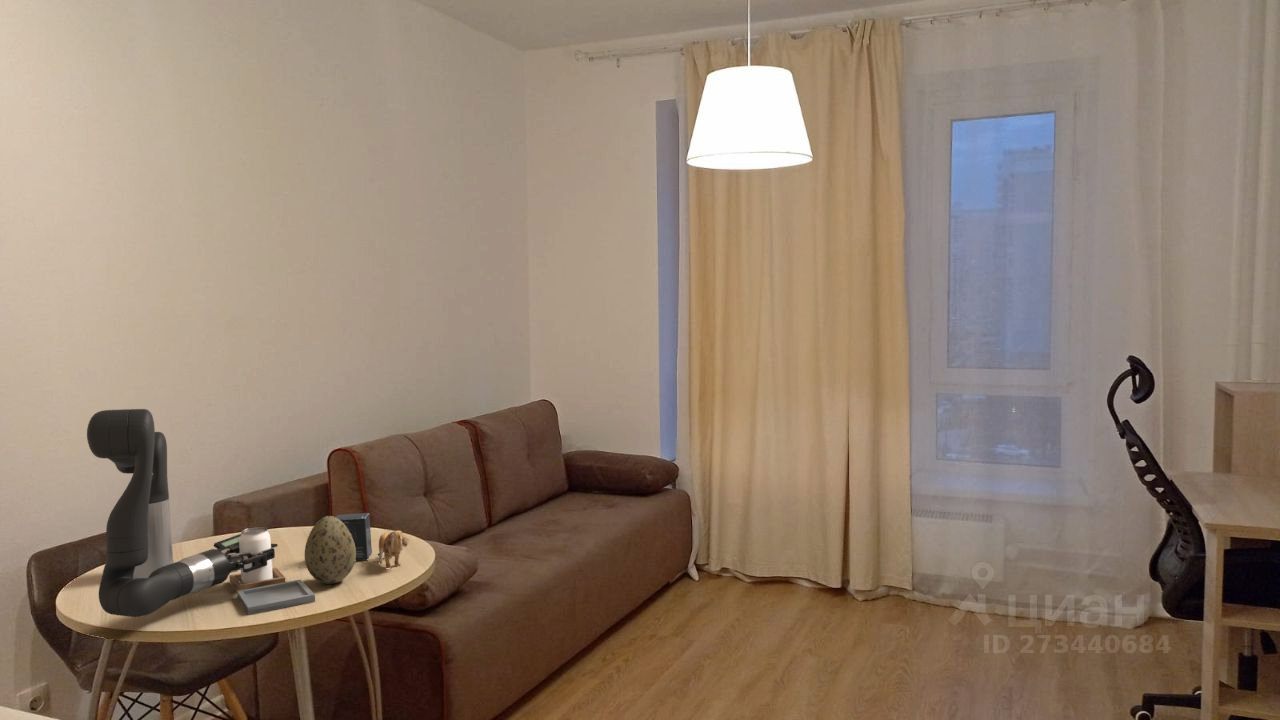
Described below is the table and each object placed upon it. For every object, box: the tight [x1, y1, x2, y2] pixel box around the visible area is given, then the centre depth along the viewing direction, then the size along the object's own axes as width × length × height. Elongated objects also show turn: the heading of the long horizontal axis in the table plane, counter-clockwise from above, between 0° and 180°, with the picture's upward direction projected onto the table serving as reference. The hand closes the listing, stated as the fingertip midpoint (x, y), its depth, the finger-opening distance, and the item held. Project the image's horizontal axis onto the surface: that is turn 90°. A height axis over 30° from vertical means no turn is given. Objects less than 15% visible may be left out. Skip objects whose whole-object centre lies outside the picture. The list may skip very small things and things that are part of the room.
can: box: [239, 526, 274, 584], centre depth 205 cm, size 6×6×12 cm
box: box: [335, 512, 373, 561], centre depth 223 cm, size 8×6×11 cm
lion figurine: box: [377, 530, 411, 569], centre depth 218 cm, size 15×5×9 cm, turn 38°
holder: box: [228, 566, 286, 593], centre depth 206 cm, size 10×10×2 cm
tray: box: [236, 579, 316, 616], centre depth 194 cm, size 13×13×2 cm
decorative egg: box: [304, 515, 356, 585], centre depth 204 cm, size 11×11×15 cm
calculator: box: [213, 533, 278, 550], centre depth 234 cm, size 9×12×3 cm
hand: (258, 551), depth 206 cm, fingers open, 8 cm apart
